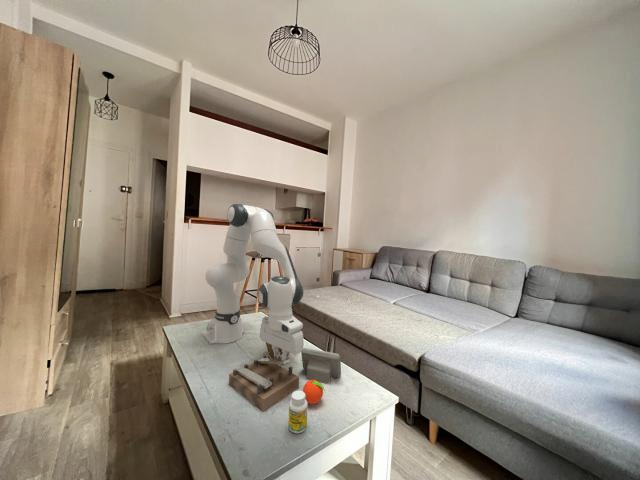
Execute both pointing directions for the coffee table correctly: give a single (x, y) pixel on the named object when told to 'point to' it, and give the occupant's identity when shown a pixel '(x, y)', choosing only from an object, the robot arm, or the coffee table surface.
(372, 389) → the coffee table surface
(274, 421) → the coffee table surface
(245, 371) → the near strap
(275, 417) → the coffee table surface
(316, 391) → the clementine
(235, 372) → the strap base
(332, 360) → the digital clock
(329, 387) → the coffee table surface
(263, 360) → the strap
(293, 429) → the supplement bottle
